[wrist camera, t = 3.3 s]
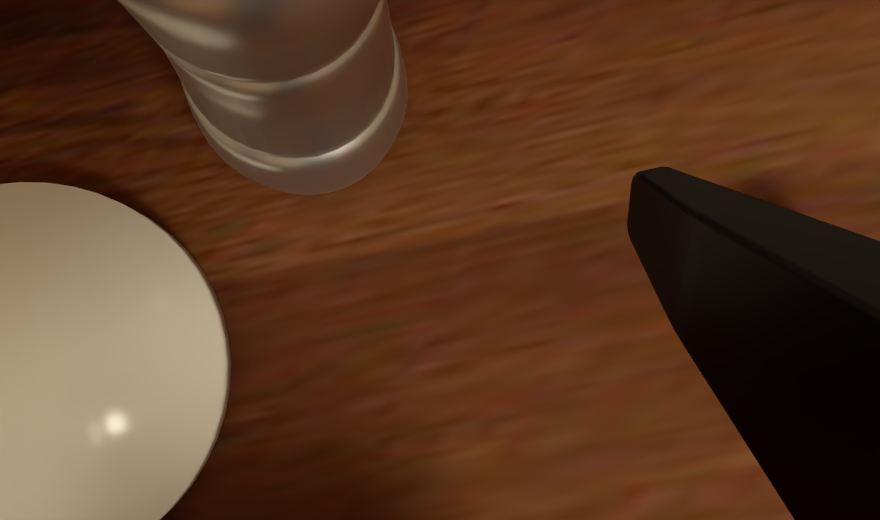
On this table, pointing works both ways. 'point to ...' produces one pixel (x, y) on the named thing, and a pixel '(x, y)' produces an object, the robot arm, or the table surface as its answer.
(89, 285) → the saucer
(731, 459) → the table surface
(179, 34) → the plastic bottle
